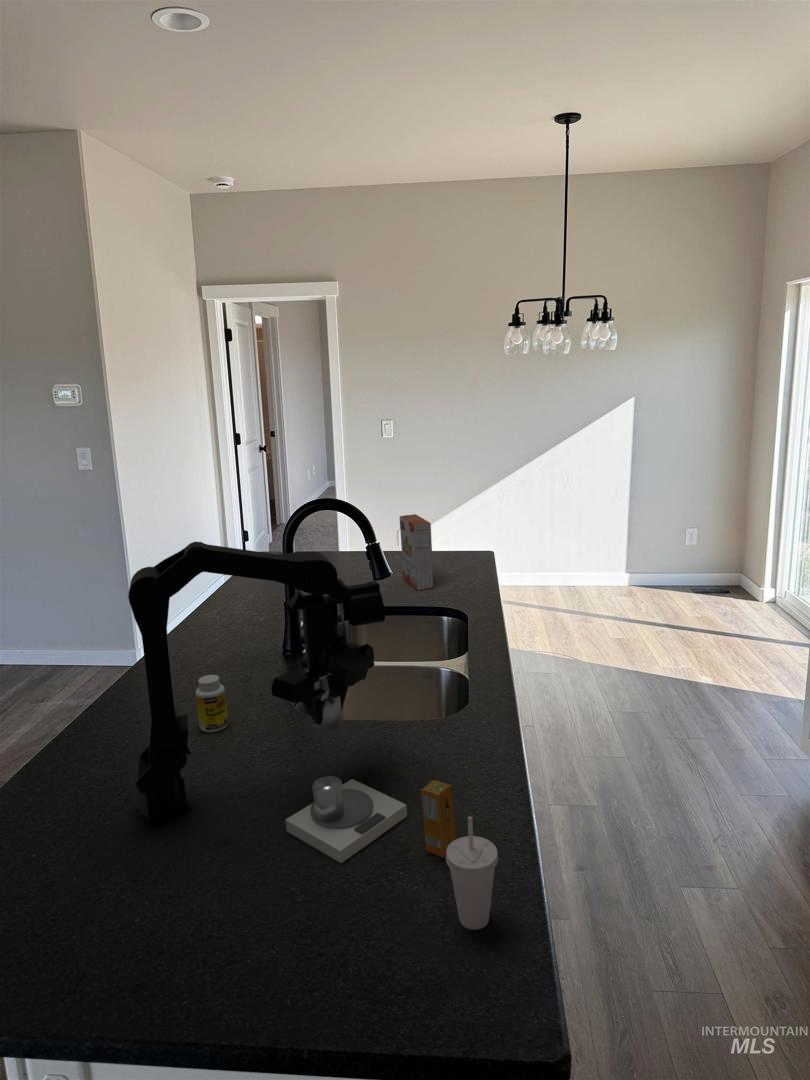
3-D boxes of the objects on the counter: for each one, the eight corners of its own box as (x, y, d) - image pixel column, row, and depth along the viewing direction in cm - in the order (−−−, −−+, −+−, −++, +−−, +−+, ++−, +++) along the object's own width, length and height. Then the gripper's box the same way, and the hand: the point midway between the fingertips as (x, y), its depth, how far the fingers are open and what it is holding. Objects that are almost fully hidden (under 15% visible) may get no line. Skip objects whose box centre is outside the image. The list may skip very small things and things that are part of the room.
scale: (341, 863, 105) (339, 847, 105) (286, 831, 113) (285, 816, 113) (407, 816, 115) (406, 801, 115) (352, 789, 123) (351, 775, 123)
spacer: (350, 811, 113) (348, 782, 111) (329, 826, 110) (326, 796, 108) (330, 801, 116) (327, 773, 114) (309, 815, 112) (306, 786, 111)
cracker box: (402, 579, 239) (398, 515, 234) (419, 577, 241) (416, 513, 236) (415, 591, 226) (412, 524, 221) (434, 588, 227) (431, 521, 223)
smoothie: (495, 899, 97) (493, 803, 94) (503, 936, 91) (501, 835, 87) (446, 902, 97) (442, 806, 93) (451, 939, 90) (446, 838, 87)
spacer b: (329, 733, 122) (327, 704, 121) (310, 725, 125) (307, 698, 124) (347, 722, 125) (345, 694, 124) (328, 715, 128) (326, 688, 127)
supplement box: (437, 838, 110) (434, 777, 107) (456, 847, 107) (454, 785, 105) (423, 850, 107) (420, 788, 105) (442, 859, 105) (440, 796, 103)
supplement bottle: (205, 736, 144) (199, 687, 141) (196, 725, 148) (189, 678, 146) (233, 727, 147) (227, 679, 144) (223, 717, 151) (217, 670, 149)
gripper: (315, 660, 109) (324, 756, 113) (396, 621, 123) (400, 708, 127) (264, 645, 116) (274, 736, 120) (346, 610, 130) (352, 693, 134)
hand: (328, 718), depth 125 cm, fingers closed on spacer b, 4 cm apart
